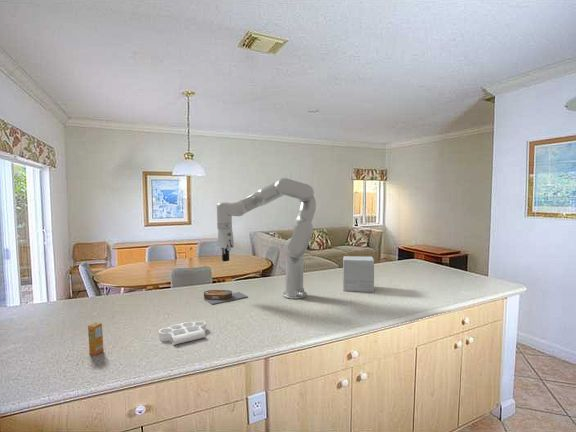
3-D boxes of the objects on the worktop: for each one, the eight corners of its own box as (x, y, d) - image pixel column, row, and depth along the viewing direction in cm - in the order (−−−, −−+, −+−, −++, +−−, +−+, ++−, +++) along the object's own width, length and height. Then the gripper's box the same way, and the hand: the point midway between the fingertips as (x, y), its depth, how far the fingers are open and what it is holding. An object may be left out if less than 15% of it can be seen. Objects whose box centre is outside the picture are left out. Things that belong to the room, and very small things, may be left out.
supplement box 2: (372, 286, 194) (372, 256, 194) (374, 292, 181) (374, 260, 180) (343, 285, 198) (343, 255, 197) (342, 291, 184) (343, 259, 183)
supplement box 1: (88, 354, 111) (86, 325, 110) (97, 349, 114) (96, 321, 113) (95, 355, 109) (94, 326, 109) (104, 351, 113) (103, 322, 112)
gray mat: (247, 297, 173) (247, 296, 173) (212, 304, 161) (212, 303, 161) (239, 293, 181) (239, 292, 181) (204, 299, 169) (204, 298, 169)
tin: (234, 290, 175) (229, 293, 167) (233, 296, 175) (229, 300, 167) (206, 289, 177) (201, 293, 168) (206, 295, 177) (201, 299, 168)
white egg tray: (164, 349, 114) (155, 335, 127) (213, 337, 124) (201, 325, 137) (164, 340, 114) (155, 326, 126) (213, 329, 124) (201, 317, 136)
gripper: (237, 226, 166) (238, 262, 167) (225, 224, 178) (226, 258, 179) (224, 227, 162) (225, 264, 163) (212, 225, 174) (213, 259, 175)
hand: (225, 260), depth 171 cm, fingers closed
